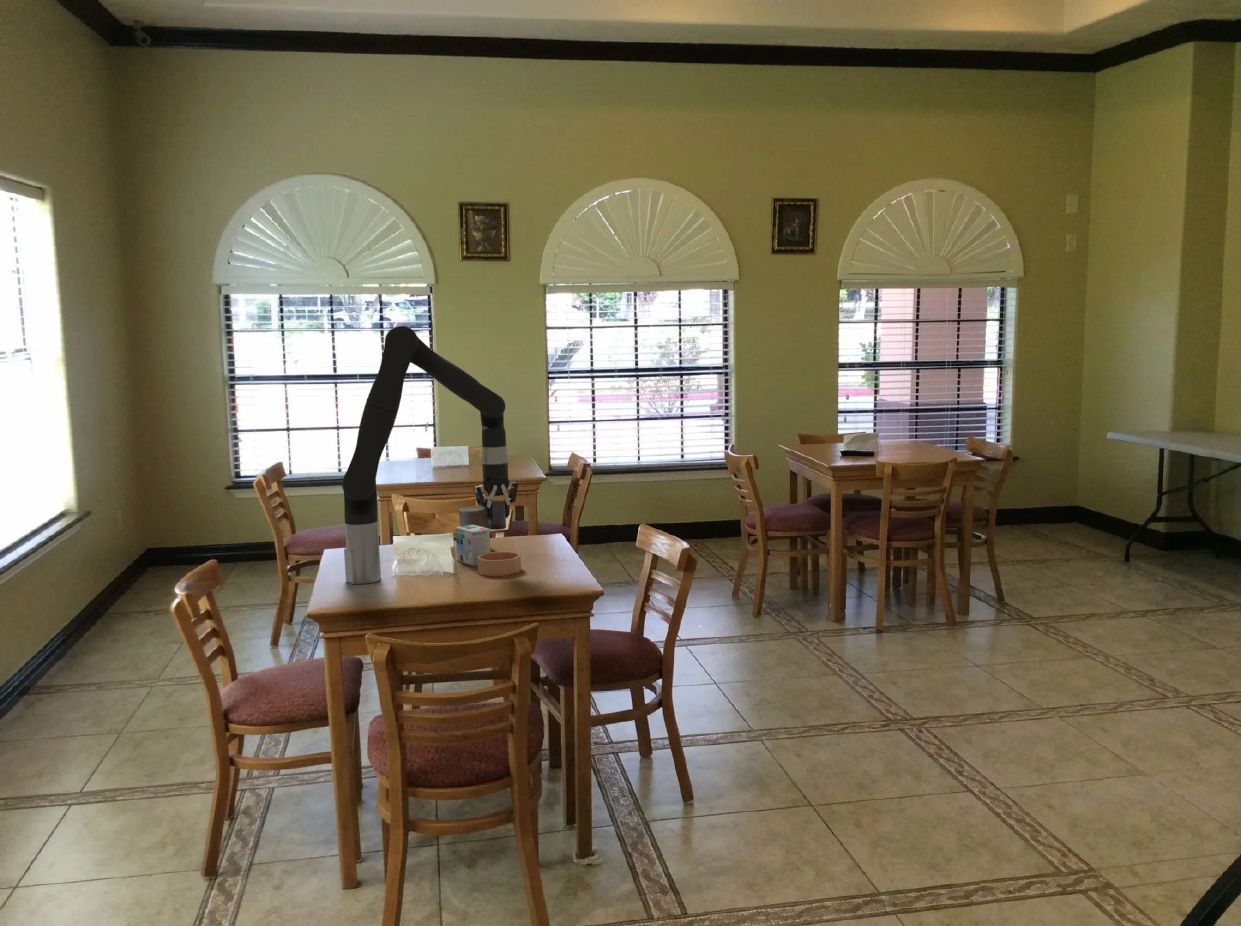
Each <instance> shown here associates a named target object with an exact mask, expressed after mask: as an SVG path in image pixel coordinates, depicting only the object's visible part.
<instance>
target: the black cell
mask: <svg viewBox="0 0 1241 926" xmlns="http://www.w3.org/2000/svg"><path fill="white" fill-rule="evenodd" d="M489 496H490V495H488V497H489ZM490 508H491V516H492V519H491V520H489V529H490V530H493V531H497V530H498V531H499V530H504V529H507V518H506V509H505V495H495V496H493V500H492V503H491V506H490Z"/></svg>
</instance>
